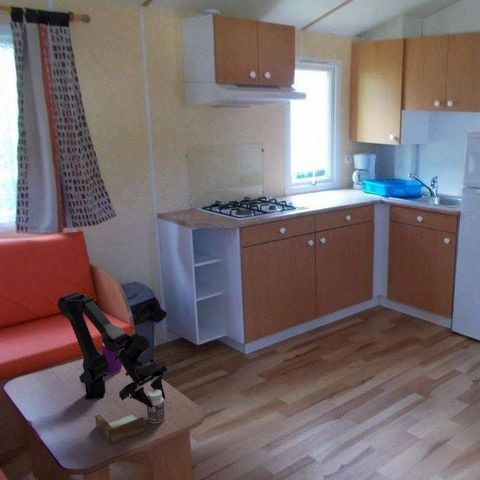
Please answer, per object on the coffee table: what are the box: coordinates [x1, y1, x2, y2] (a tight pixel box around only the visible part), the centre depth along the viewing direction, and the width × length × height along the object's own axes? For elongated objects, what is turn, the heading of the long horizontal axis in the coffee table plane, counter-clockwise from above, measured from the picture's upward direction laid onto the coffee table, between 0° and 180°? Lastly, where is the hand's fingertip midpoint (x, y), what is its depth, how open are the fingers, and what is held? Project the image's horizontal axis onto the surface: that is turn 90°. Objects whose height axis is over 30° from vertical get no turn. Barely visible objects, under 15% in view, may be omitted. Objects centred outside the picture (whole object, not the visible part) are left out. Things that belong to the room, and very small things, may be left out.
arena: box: [94, 414, 146, 445], centre depth 172 cm, size 12×12×4 cm
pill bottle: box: [146, 389, 166, 424], centre depth 176 cm, size 6×6×10 cm
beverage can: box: [100, 342, 123, 375], centre depth 210 cm, size 8×8×12 cm
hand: (158, 402), depth 175 cm, fingers closed on pill bottle, 6 cm apart
